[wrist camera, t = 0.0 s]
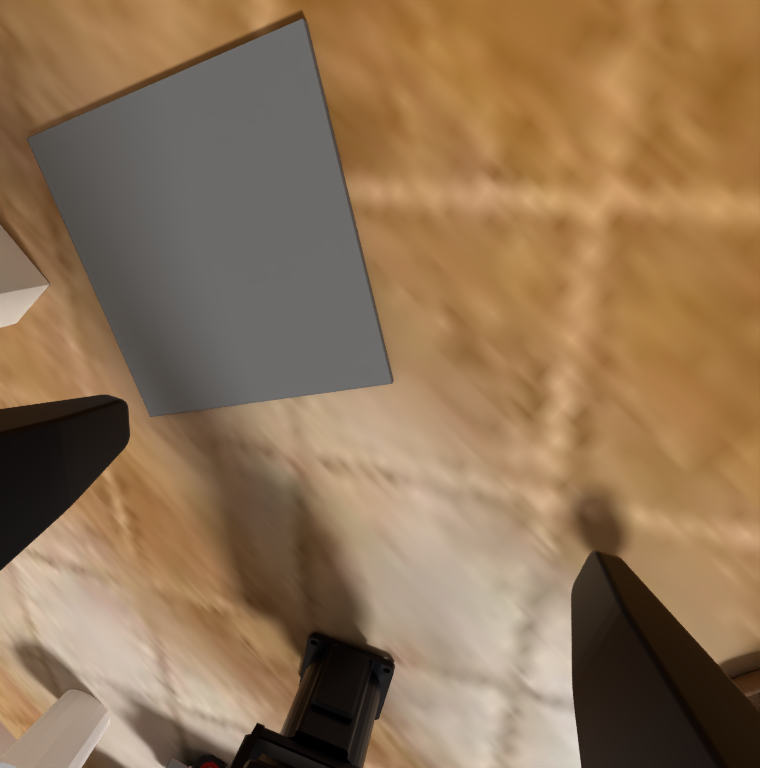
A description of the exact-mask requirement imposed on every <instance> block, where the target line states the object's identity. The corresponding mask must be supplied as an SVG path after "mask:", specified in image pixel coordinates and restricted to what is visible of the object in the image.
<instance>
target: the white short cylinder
mask: <svg viewBox="0 0 760 768" xmlns="http://www.w3.org/2000/svg"><path fill="white" fill-rule="evenodd" d="M110 719H111V717H110V715H109V713H108V711H107V709H106V708H105V707H104V706H103V705H102V703H100V702H99V701H98V700H97V699H95V698H94V697H93V696H91V695H89V694H87V693H85V692H83V691H79V690H76V689H72V690H67V691H66V692H65V693H64V694H63V695H62V696H61V697H60V698H59V699H58V700H57V701H56V702H55V703H54V704H53V705H52V706H51V707H50V708H49V709H48V710H47V711H46V712H45V713H44V714H43V715H42V716H41V717H40V718H39V719H38V720H37V721H36V722H35V723H34V724H33V725H32V726H31V727H30V728H29V729H28V730H27V731H26V732H25V733H24V734H23V735H22V736H21V737H20V738H19V739H18V740H17V741H16V742H15V743H14V744H13V745H12V746H11V747H10V748H9V749H8V750H7V751H6V752H5V753H4V754H3V755H2V756H1V757H0V768H82V766H83V765H84V763H85V761H86V760H87V758H88V757H89V755H90V754H91V752H92V751H93V749H94V747H95V746H96V744H97V743H98V741H99V740H100V738H101V737H102V735H103V733H104V732H105V730H106V729H107V727H108V726H109V724H110Z"/></svg>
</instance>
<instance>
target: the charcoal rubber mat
mask: <svg viewBox="0 0 760 768" xmlns="http://www.w3.org/2000/svg"><path fill="white" fill-rule="evenodd" d="M27 140H28V142H29V145H30V147H31V149H32V151H33V154H34V156H35V158H36V160H37V163H38V165H39V167H40V169H41V172H42V174H43V176H44V178H45V181H46V183H47V185H48V187H49V190H50V192H51V194H52V196H53V199H54V201H55V203H56V205H57V208H58V210H59V212H60V214H61V217H62V219H63V221H64V223H65V226H66V228H67V230H68V232H69V235H70V237H71V239H72V241H73V244H74V246H75V248H76V250H77V253H78V255H79V257H80V259H81V262H82V264H83V266H84V268H85V271H86V273H87V275H88V277H89V280H90V282H91V284H92V286H93V289H94V291H95V293H96V295H97V298H98V300H99V302H100V304H101V307H102V309H103V311H104V313H105V316H106V318H107V320H108V322H109V325H110V327H111V329H112V331H113V334H114V336H115V338H116V340H117V343H118V345H119V347H120V349H121V352H122V354H123V356H124V358H125V361H126V363H127V365H128V367H129V370H130V372H131V374H132V376H133V379H134V381H135V383H136V385H137V388H138V390H139V392H140V394H141V397H142V399H143V401H144V403H145V406H146V408H147V410H148V412H149V415H150V417H153V416H161V415H168V414H175V413H182V412H190V411H197V410H204V409H212V408H219V407H226V406H233V405H241V404H248V403H255V402H263V401H270V400H277V399H284V398H292V397H299V396H306V395H313V394H321V393H328V392H335V391H343V390H350V389H357V388H364V387H372V386H379V385H386V384H392V383H393V376H392V372H391V368H390V364H389V360H388V356H387V352H386V347H385V343H384V339H383V335H382V331H381V327H380V323H379V318H378V314H377V310H376V306H375V302H374V298H373V294H372V289H371V285H370V281H369V277H368V273H367V269H366V265H365V260H364V256H363V252H362V248H361V244H360V240H359V236H358V231H357V227H356V223H355V219H354V215H353V211H352V207H351V202H350V198H349V194H348V190H347V186H346V182H345V178H344V173H343V169H342V165H341V161H340V157H339V153H338V149H337V145H336V140H335V136H334V132H333V128H332V124H331V120H330V116H329V111H328V107H327V103H326V99H325V95H324V91H323V87H322V82H321V78H320V74H319V70H318V66H317V62H316V58H315V53H314V49H313V45H312V41H311V37H310V33H309V29H308V24H307V22H306V21H305V20H304V19H300V20H298V21H296V22H293V23H291V24H289V25H286V26H284V27H282V28H280V29H277V30H275V31H273V32H270V33H268V34H266V35H263V36H261V37H259V38H257V39H254V40H252V41H250V42H247V43H245V44H243V45H240V46H238V47H236V48H234V49H231V50H229V51H227V52H224V53H222V54H220V55H217V56H215V57H213V58H211V59H208V60H206V61H204V62H201V63H199V64H197V65H194V66H192V67H190V68H188V69H185V70H183V71H181V72H178V73H176V74H174V75H171V76H169V77H167V78H165V79H162V80H160V81H158V82H155V83H153V84H151V85H148V86H146V87H144V88H142V89H139V90H137V91H135V92H132V93H130V94H128V95H125V96H123V97H121V98H119V99H116V100H114V101H112V102H109V103H107V104H105V105H102V106H100V107H98V108H96V109H93V110H91V111H89V112H86V113H84V114H82V115H79V116H77V117H75V118H73V119H70V120H68V121H66V122H63V123H61V124H59V125H56V126H54V127H52V128H50V129H47V130H45V131H43V132H40V133H38V134H36V135H33V136H31V137H29V138H27Z"/></svg>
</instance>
